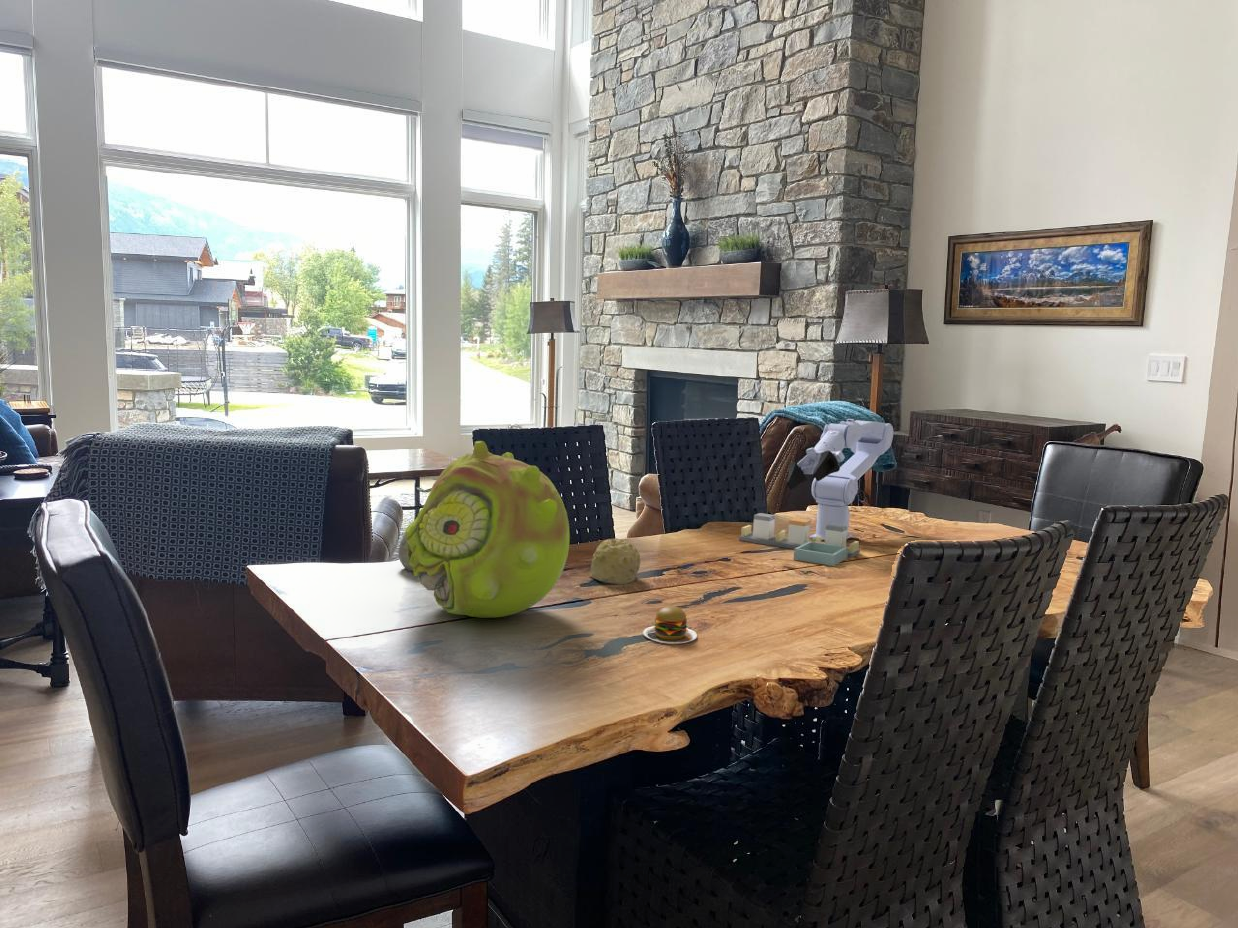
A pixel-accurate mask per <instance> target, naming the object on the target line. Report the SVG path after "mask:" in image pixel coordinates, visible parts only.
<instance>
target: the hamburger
mask: <svg viewBox="0 0 1238 928" xmlns="http://www.w3.org/2000/svg"><path fill="white" fill-rule="evenodd" d="M687 621H688V619H687V614H686V612H685V611H684V610H683V609H682V608H680V607H677V606H673V605H669V606H664V607H662V608H660V609H659V610H658V611H657V612H656V615H655V619H654V623H652V625H653V626H648V627H646V628H645V629H644V630H643V631H642V635H643V636H644V637H646V638H648V639H650V640H651V641H653V642H658V643H660V644H661V643H662V644H669V645H678V644H680V645H681V644H687V643H690V642H692V641H694V640H696V639H697V638H698V634H697V632H696V631H694V630H693V629H690V628H688V625H687V623H688V622H687ZM654 631H655V632H654ZM652 632H654V633H655V636H657V637H658V638H660V639H662V640H657V639H653V638H652V637H650V636H649V634H650V633H652ZM686 634H688V635H689V636H691V639H689V640H686V641H678V640H681V639H683V638H685V635H686ZM663 640H664V641H663ZM665 640H666V641H665ZM672 641H673V642H672ZM675 641H676V642H675Z"/></svg>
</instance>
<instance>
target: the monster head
mask: <svg viewBox="0 0 1238 928" xmlns="http://www.w3.org/2000/svg"><path fill="white" fill-rule="evenodd" d="M568 517H569V516H568V512H567V509H566V507H565V504H564V502H563V499H562V498H561V496H560V493H559V492H558V490H557V488H556V486H555V484H554V483H553V482H552V481H551V479H549V477H548V476H547V475H545V474H544V473H543V472H542V471H541V470H540V469H539V467H538V466H536V465H530V464H528V463H526V462H524V461H521V460H517V459H515V457H514V454H513V453H512V452H509V451H508V452H507V451H506V452H505V453H502V455H497V454H493V453H491V452H489V449H488V445H487V444H486V442H485V441H484V440H478V441H474V445H473V452H472V453H466V454H464V455H462V456H460V457H458V458H457V459H455V460H453V461H452V462H451V463H450V464H448V466H447V467H445V469H443V470H442V471H441V473H440V474H439V476H438V478H436V480H435V481H434V483H433V484H432V487H431V488H430V491H429V494H428V496H427V499H426V501H425V503H424V504H423V507H422V508H421V509H420V510H419V511H418V514H417V517H416V518H415V519H414V520H413V521H412V522H411V523H410V524H409V525H408V526H407V527H406V528H405V530H404V531H405V533H404V534H405V535H406V539H405V540H406V541H407V545H406V555H407V558H408V562H409V564H410V565H411V566H412V567H413V571H412V572H413V577H417V581H418V582H419V583H420V585H422V586H423V587H424V588H425V589H426V590H427V591H433V596H434V600H435V602H436V603H437V605H438V606H440V607H442V608H443V609H444V610H445V611H446V612H447V613H449V614H451V615H459V616H460V615H461V616H468V617H473V618H482V619H483V618H484V619H486V618H487V619H488V618H489V619H490V618H502V617H507V616H508V617H509V616H512V615H515V614H518V613H520V612H523V611H527V610H528V609H529V608H531V607H533V606H535V605H536V604H537V603H539V602H540V601H542V600H543V599H544V598H545V597H546V596H547V595H548V594H549V593H550V592H551V591H552V590H553V588H555V585H556V584H557V583H558V581H559V580H560V578H561V576H562V574H563V571H564V568H565V566H566V564H567V559H568V556H569V550H570V549H569V548H570V539H571V538H570V535H571V534H570V523H569V518H568Z"/></svg>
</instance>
